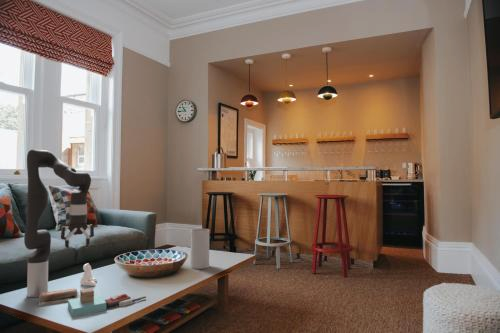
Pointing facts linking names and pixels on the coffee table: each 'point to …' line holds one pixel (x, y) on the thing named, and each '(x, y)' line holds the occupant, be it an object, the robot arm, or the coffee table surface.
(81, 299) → the walnut block
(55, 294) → the packaged product
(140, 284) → the coffee table surface
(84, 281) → the sitting furry creature
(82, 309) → the teal base block
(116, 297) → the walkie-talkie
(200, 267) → the cylinder vase
